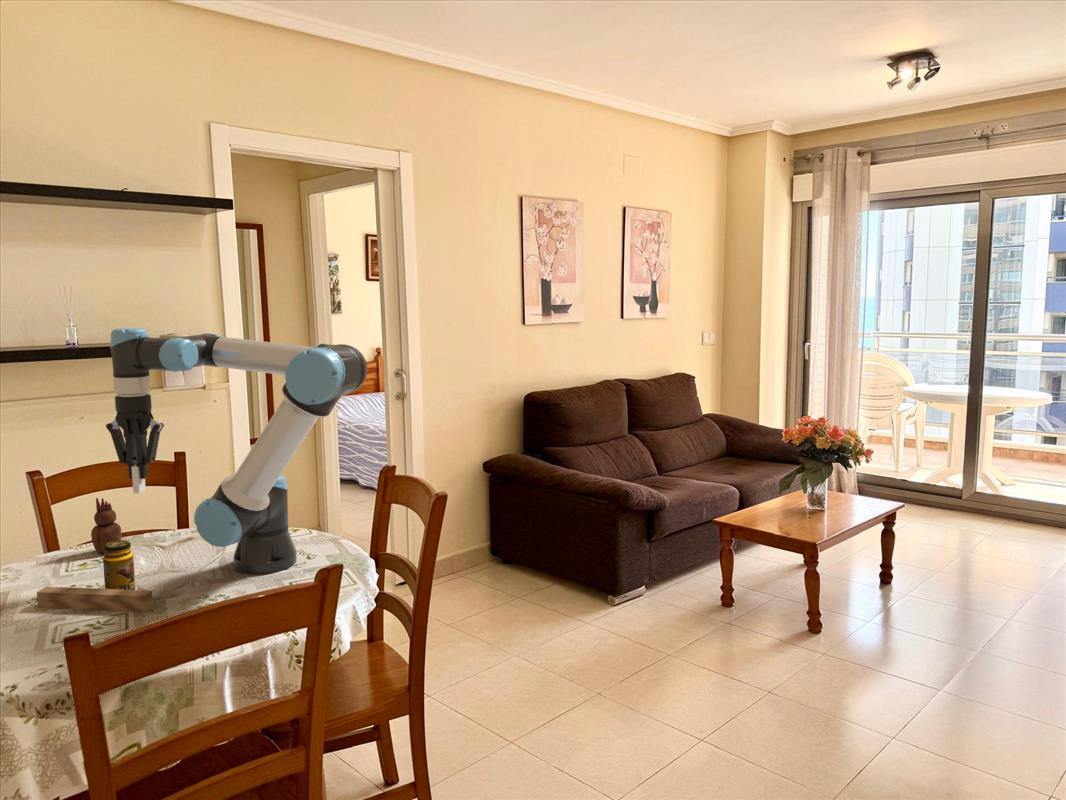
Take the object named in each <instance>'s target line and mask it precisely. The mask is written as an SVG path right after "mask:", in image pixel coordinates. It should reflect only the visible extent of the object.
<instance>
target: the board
mask: <svg viewBox="0 0 1066 800" xmlns="http://www.w3.org/2000/svg"><path fill="white" fill-rule="evenodd" d="M36 597H37V598H36V599H37V608H49V609H67V610H68V609H69V610H71V609H74V610H91V611H92V610H93V611H94V610H96V611H99V610H100V611H120V612H121V611H122V612H123V611H124V612H145V613H146V612H147V611H149V610H150V609H151V608H152V607H153V606H154V601H153V598H154V597H153V590H145V589H141V590H140V589H137V590H122V589H105V588H91V587H88V588H87V587H84V588H83V587H67V586H66V587H65V586H44V587H43V588H42V589H40V590H38V591H36Z"/></svg>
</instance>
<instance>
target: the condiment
mask: <svg viewBox="0 0 1066 800" xmlns="http://www.w3.org/2000/svg"><path fill="white" fill-rule="evenodd" d="M104 550H105V551H104V555H103V557H102V562H103V563H102V564H103V566H102V567H103V579H104V581H103V582H104V589H122V590H138V587H137V584H136V577H135V562H134V561H135V560H134V553H133V552H132V545H131V541H128V540H125V539H121V540H117V541H112V542H109V543H107V544H106V545H105V546H104Z"/></svg>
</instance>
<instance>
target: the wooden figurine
mask: <svg viewBox="0 0 1066 800" xmlns="http://www.w3.org/2000/svg"><path fill="white" fill-rule="evenodd" d="M95 506H96V513H95V514H94V515H93V516H94V517H93V520H94V523H95V524H96V525H95V526H93V528H92V529H91V532H90V535H91V536H90V537H91V543H92V545H93V548H94V550H95V551H96V552H97V554H104V551H105V550H104V546H105V545H106V544H107V543H109V542H112V541H117V540H122V527H121V525H120V524H119V523H117V522H116V521H117V514H116V511H115V510H114V509H113V506H112V503H110V502H108V501H104V498H101V503H100V501H99V498H98V497H96V498H95ZM104 555H105V554H104Z"/></svg>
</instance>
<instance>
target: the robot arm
mask: <svg viewBox="0 0 1066 800" xmlns="http://www.w3.org/2000/svg"><path fill="white" fill-rule="evenodd" d="M109 347H110V353H111V355H110V356H111V362H112V372H113V373H112V376H113V377H112V378H113V392H114V394H115V397H114V406H115V411H116V415H115V416H114V417H115V419H114V420H113V421H111V422H109V423H106V424H105V427H106V430H107V431H108V432H109V434H110V436H111V439H112V442H113V446H114V448H115V452H116V455H117V458H118V462H119V463H120V464H124V465H127V468H128V478H129V479H130V480H132V493H133V494H141V493H143V492H145V491H146V479H147V478H148V476H149V473H148V464H150V463H153V462H155V461H156V459H157V452H158V445H159V440H160V437H161V436H160V435H161V432H162V430H163V428H164V426H165V425H164V423H163V422H158V421H157V420H155V419H154V416H153V414H152V395H151V394H150V392H151V381H150V380H151V379H150V371H153V370H154V371H165V372H166V371H169V372H174V373H175V372H176V373H177V372H188V371H191V370H192V369H193V368H194V367H201V366H205V367H213V368H214V367H215V368H223V369H224V368H225V369H232V370H240V371H247V372H254V373H255V372H257V373H264V374H273V375H281V376H284V378H285V383H284V384H283V386H282V388H281V393H282V395H283V398H282V401H281V402H280V404H279V406H277V408H276V410H275V412H274V413H273V414H272V416H271V417H270V419H269V421H268V423H267V424H266V425H265V427H264V429H263V430H262V432H261V433H260V435H259V436H258V437H257V439H256V441H255V443H254V444H253V446H252V448H251V449H250V450H249V452H248V453H247V455H246V457H244V460H243V462H242V463H241V464H240V466H239V467H238V469H237V470H236V472H235V473H234V474H233V475H229V476H226V477H225V478H224V479H223V480H222V481H221V482H220V484H219V486H218V487H217V489H216V491H215V492H214V493H213V495H212V496H211V497H210V498H206V499H204V500H202V502H201V503H199V504H198V505H197V507H196V509H195V512H194V516H193V521H194V522H193V523H194V524H195V526H196V531H197V533H198V534H199V536H200V537H201V538H202V539H203V540H204V541H205V543H208V544H209V545H212V546H213V547H217V548H225V547H229V546H232V545H235V544H237V545H236V547H235V551H234V553H233V559H232V560H233V561H232V562H233V563H232V564H233V568H234V570H235V571H237V572H241V573H244V574H255V575H256V574H258V575H260V574H268V573H274V572H280V571H282V570H286V569H288V568H290V567H291V566H293V565H295V564H296V562H297V549H296V548H295V547H296V546H295V544H294V543H293V539H292V537H291V535H290V532H289V510H288V509H289V507H288V506H289V505H288V492H289V491H288V490H289V489H288V487H287V479H286V477H285V476H284V475H282V473H283V472H284V470H285V469H286V468H287V466H288V464H289V463H290V462H291V460H292V459H293V457H294V455H295V454H296V452H297V451H298V449H299V447H300V446H302V444H303V442H304V440H305V439H306V437H307V436H308V435H309V433H310V431H311V430H312V429H313V427H314V425H315V424H316V423H317V421H318V419H320V418H327V417H329V415H330V414H331V412H332V411H333V409H334V408H335V406H336V405H337V403H339V400H340V399H341V398H342V396H346V395H349V394H352V393H354V392H356V391H357V390H359V388H361V387H362V386H363V384H364V383H365V381H366V379H367V375H368V363H367V360H366V358H365V356H364V355H363V353H362V352H361V351H360V350H359V349H358V348H356V347H354V346H352V345H349V344H345V343H344V344H343V343H338V344H326V343H319V344H317V345H315V346H314V347H313V346H307V345H306V346H305V345H299V344H298V345H297V344H290V343H289V344H288V343H281V342H269V341H262V340H254V339H253V340H252V339H244V338H235V337H227V336H222V335H219V334H216V333H203V334H195V335H184V336H171V337H150V336H149V337H148V333H147V330H146V329H145V328H139V327H122V328H121V327H120V328H118V327H117V328H114V329H112V330H111V332H110V346H109ZM121 429H122V430H123V432H122V430H121ZM148 429H149V430H150V432H149V437H148V438H147V436H148ZM147 441H148V442H147Z"/></svg>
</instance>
